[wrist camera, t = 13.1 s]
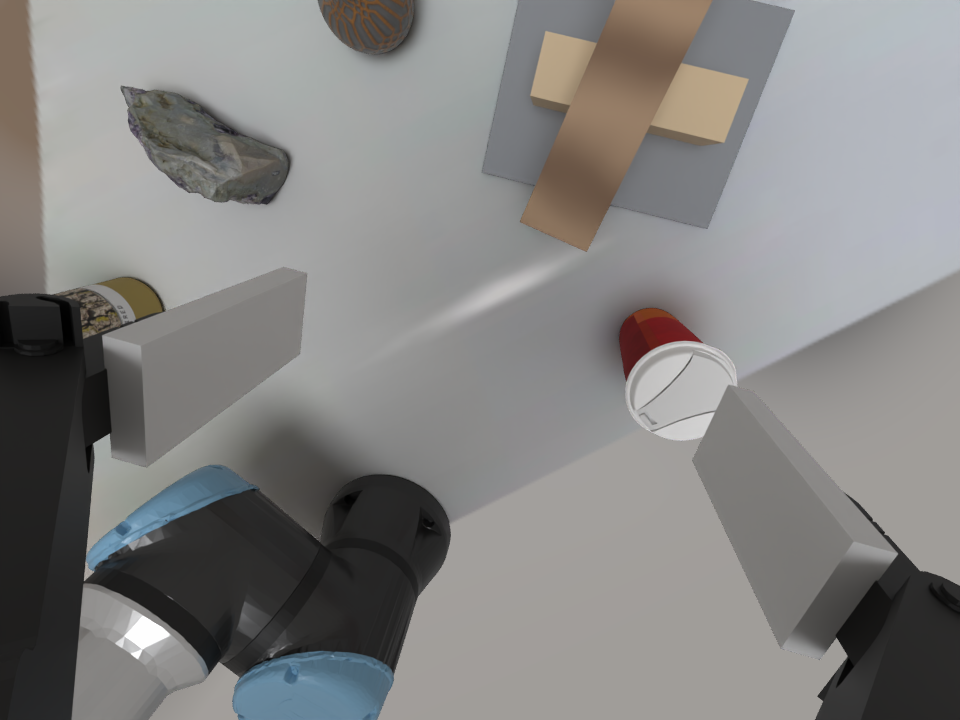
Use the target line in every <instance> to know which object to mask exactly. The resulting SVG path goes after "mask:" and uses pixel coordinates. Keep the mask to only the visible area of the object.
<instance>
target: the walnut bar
mask: <svg viewBox="0 0 960 720" xmlns="http://www.w3.org/2000/svg"><path fill="white" fill-rule="evenodd" d="M712 1H713V0H616V1H615V3H614V5H613V7H612V10H611V12H610V14H609V17H608V19H607V21H606V24H605V26H604V28H603V31H602V33H601V35H600V38H599V40H598V42H597V44H596V47H595V49H594V51H593V54H592V56H591V58H590V61H589V63H588V65H587V68H586V70H585V72H584V75H583V77H582V79H581V81H580V84H579V86H578V88H577V91H576V93H575V95H574V98H573V100H572V102H571V105H570V107H569V109H568V111H567V114H566V116H565V118H564V121H563V123H562V125H561V128H560V130H559V132H558V135H557V137H556V139H555V142H554V144H553V146H552V148H551V151H550V153H549V155H548V158H547V160H546V162H545V165H544V167H543V169H542V172H541V174H540V176H539V179H538V181H537V183H536V185H535V188H534V190H533V192H532V195H531V197H530V199H529V202H528V204H527V206H526V209H525V211H524V213H523V215H522V218H521V220H520V222H521V223H523V224H525V225H528V226H530V227H532V228H534V229H537V230H539V231H541V232H543V233H546V234H548V235H550V236H552V237H555V238H557V239H559V240H561V241H563V242H566V243H568V244H570V245H572V246H575V247H577V248H579V249H581V250H584V251H586V252H587V250H588V248H589V246H590V244H591V242H592V240H593V238H594V236H595V234H596V232H597V230H598V228H599V226H600V224H601V222H602V220H603V218H604V216H605V214H606V212H607V210H608V208H609V206H610V204H611V202H612V200H613V198H614V196H615V194H616V192H617V190H618V188H619V186H620V184H621V182H622V180H623V178H624V176H625V174H626V172H627V170H628V168H629V166H630V164H631V162H632V160H633V158H634V156H635V154H636V152H637V150H638V148H639V146H640V144H641V142H642V140H643V138H644V136H645V134H646V132H647V130H648V128H649V126H650V124H651V122H652V120H653V118H654V116H655V114H656V112H657V110H658V108H659V106H660V104H661V102H662V100H663V98H664V96H665V94H666V92H667V90H668V88H669V86H670V84H671V82H672V80H673V78H674V76H675V74H676V72H677V70H678V68H679V66H680V64H681V62H682V60H683V58H684V56H685V54H686V52H687V50H688V48H689V47H690V45H691V43H692V41H693V39H694V37H695V35H696V33H697V31H698V29H699V27H700V25H701V23H702V21H703V19H704V17H705V15H706V13H707V11H708V9H709V7H710V5H711V3H712Z"/></svg>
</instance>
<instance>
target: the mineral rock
mask: <svg viewBox="0 0 960 720" xmlns="http://www.w3.org/2000/svg"><path fill="white" fill-rule="evenodd" d="M121 91H122V93H123V95H124V97H125V100H126V103H127V105H128V107H129V108H128V110H127V111H128V123H129V127H130V131H131V132H132V133H133V134H134V136H135V137H136V138H137V139H138V140H139V142H140V144H141V145H142V146H143V147H144V149H145V152H146V154H147V156H148V158H149V159H150V160H151V161H152V163H153V164H154V165H155V166H156V167H157V168H158V169H159V170H160V171H162V172H164V173H165V174H166V175H167V176H168V177H169V178H170V179H171V180H172V181H173V182H174V183H175V184H176V185H177V186H178V187H179V188H183V189H184V190H186V191H187V192H189V193H200V194H201V195H202V196H203V197H204V198H207V199H210V200H212V201H214V202H227V201H229V200H233V201H237V202H239V203H243V204H246V203H247V204H249V203H250V204H261V203H262V204H268V203H269V202H270V200H271V198H272V196H273V195H274V194H275V193H276V192H277V191H278V190H279V188H280V187H281V186H282V185H283V183H284V181H285V179H286V175H287V171H288V159H287V157H286V154H285V153H284V152H283V151H282V150H281V149H276V148H273V147H270V146H268V145H265V144H262V143H260V142H258V141H257V140H254V139H252V138H250V137H247V136H244V135H239V134H238V133H236V132H235V131H234V130H232V129H230V128H228V127H227V126H225V125H223V124H222V123H220V122H217V121H216V120H214V119H213V118H212V117H211V116H209V115H208V114H207V113H206V112H205V111H204V110H203V109H202V108H201V107H200V105H198V104H196V103H194V102H191V101H190V100H188V99H185V98H183V97H182V96H181V95H179V94H176V93H173V92H165V91H159V90H152V91H145V90H143V89H137V88H133V87H125V86H121Z"/></svg>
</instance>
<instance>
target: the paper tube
mask: <svg viewBox="0 0 960 720" xmlns="http://www.w3.org/2000/svg"><path fill="white" fill-rule="evenodd" d="M53 295H58V296H62V297H67V298H70V299H72V300H74V301H76V302H78V304H79V306H80V312H81V322H82V333H83V339H84V338H87V337H89V336H92V335H95V334H98V333H100V332H103V331H106V330H108V329H111V328H114V327H120V325H122V324H125V323H127V322H130V321H133V322H134V321H135V320H136V319H138V318H141V317H144V316H147V315H149V314H152V313H158V312H163V310H162V306H161V303H160V301H159V299H158V297H157V296H156V295H155V293H154V292H153V291H152V290H151V289H150V288H149V287H148V286H146V285H145V284H143V283H142V282H140V281H137V280H135V279H132V278H116V279H112V280H109V281H105V282H101V283H97V284H93V285H88V286H84V287H80V288H76V289H73V290H69V291H65V292H61V293H57V294H53Z"/></svg>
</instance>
